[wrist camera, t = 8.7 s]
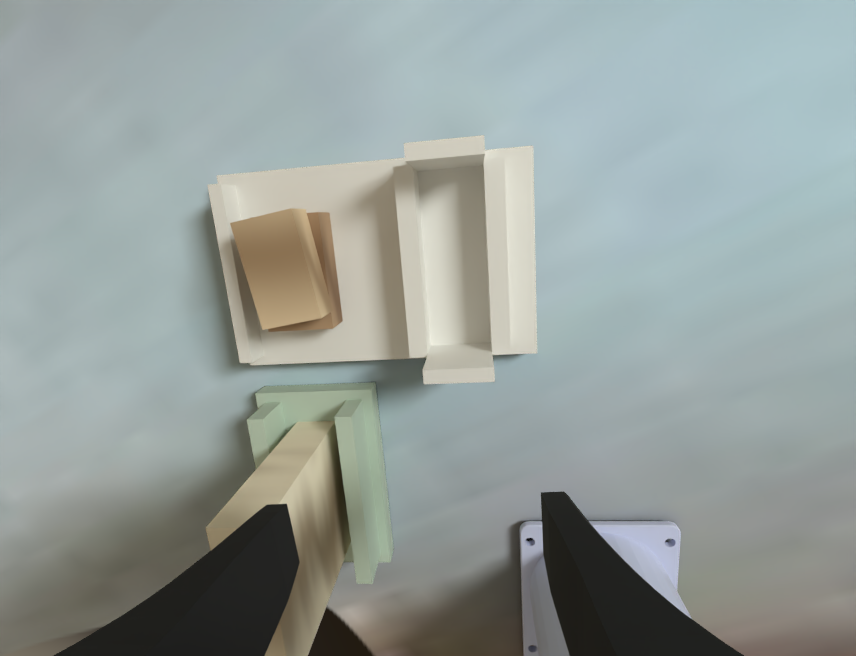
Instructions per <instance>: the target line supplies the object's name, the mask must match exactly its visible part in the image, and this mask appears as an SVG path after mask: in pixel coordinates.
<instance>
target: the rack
mask: <svg viewBox="0 0 856 656" xmlns="http://www.w3.org/2000/svg"><path fill="white" fill-rule="evenodd" d="M404 151H405V158H397V159H387V160H376V161H366V162H355V163H345V164H334V165H323V166H313V167H302V168H292V169H281V170H271V171H260V172H250V173H239V174H229V175H218V176H217V181H218V184H212V185H208V191H209V196H210V202H211V207H212V213H213V218H214V224H215V229H216V235H217V240H218V246H219V251H220V256H221V262H222V267H223V273H224V278H225V284H226V289H227V295H228V300H229V306H230V311H231V317H232V322H233V328H234V333H235V339H236V344H237V350H238V355H239V361H240V363H250V365H271V364H294V363H318V362H342V361H365V360H389V359H412V358H426V361H425V364H424V367H423V381H424V384H447V383H475V382H495V376H494V363H493V356H492V355H506V354H530V353H537V321H536V268H535V216H534V164H533V146H524V147H513V148H503V149H492V150H485V144H484V135H482V136H472V137H462V138H452V139H441V140H431V141H421V142H411V143H404ZM290 208H295V209H306V212H307V213H313V212H329V213H330V221H331V229H332V237H333V245H334V253H335V262H336V270H337V278H338V286H339V294H340V302H341V310H342V318H343V321H342V322H341V323H340V324H338V325H337V326H336V327H335V328H333V329H317V330H297V331H278V332H269V331H268V329H265V330H262V326H261V323H260V320H259V317H258V313H257V310H256V307H255V304H254V300H253V297H252V294H251V291H250V287H249V284H248V281H247V277H246V274H245V271H244V268H243V264H242V261H241V258H240V255H239V251H238V248H237V245H236V242H235V238H234V235H233V232H232V229H231V225H230V223H232V222H236V221H241V220H245V219H249V218H252V217H257V216H261V215H265V214H270V213H274V212H278V211H282V210H286V209H290Z"/></svg>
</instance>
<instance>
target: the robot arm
mask: <svg viewBox="0 0 856 656" xmlns="http://www.w3.org/2000/svg"><path fill="white" fill-rule="evenodd" d="M541 505H542V521H527V522H524V523H522V524H521V526H520V529H519V531H520V562H521V593H522V625H523V656H744V655H742V654H741V653H739V652H737V651H736V650H734V649H733V648H731V647H730V646H728V645H727V644H726V643H724V642H723V641H721V640H720V639H718V638H717V637H716V636H714V635H713V634H711V633H710V632H709V631H707V630H706V629H705V628H703V627H702V626H700V625H699V624H698V623H696V622H695V621H694V620H692V618H691V616H690V614H689V613H688V611H687V609H686V607H685V605H684V603H683V602H682V600H681V598H680V596H679V594H678V592H677V583H678V567H679V552H680V537H681V533H680V530H679V528H678V527H677V525H676V524H675V523H673V522H670V521H588V520H587V519H586V518H585V516H584V515H583V514H582V513H581V512H580V510H579V509H578V508H577V506H576V505H575V504H574V503H573V501H572V500H571V499H570V497H569V496H568V495H567V494H566V493H565V492H544V493H541ZM527 538H533V540H532V541H527V540H526V539H527ZM670 538H671V539H672V540H670V541H668V542H665V541H666V540H667V539H670ZM299 563H300V561H299V556H298V551H297V547H296V542H295V538H294V533H293V529H292V524H291V520H290V515H289V511H288V506H287V504H270V505H266V506H264V507H263V508H262V509H260V510H259V511H258V512H257V513H255V514H254V515H253V516H252V517H250V518H249V519H248V520H247V521H246V522H245V523H243V524H242V525H241V526H240V527H239V528H237V529H236V530H235V531H234V532H233V533H232V534H230V535H229V536H228V537H227V538H226V539H224V540H223V541H222V542H221V543H220V544H218V545H217V546H216V547H215V548H214V549H212V550H211V551H210V552H209V553H208V554H206V555H205V556H204V557H203V558H201V559H200V560H199V561H197V562H196V563H195V564H194V565H192V566H191V567H190V568H188V569H187V570H186V571H185V572H183V573H182V574H181V575H179V576H178V577H177V578H176V579H174V580H173V581H172V582H170V583H169V584H168V585H166V586H165V587H164V588H162V589H161V590H159V591H158V592H157V593H155V594H154V595H152V596H151V597H149V598H148V599H146V600H145V601H143V602H142V603H140V604H139V605H137V606H136V607H135V608H133V609H132V610H130V611H129V612H127V613H125V614H124V615H122V616H121V617H119V618H117V619H116V620H114V621H112V622H111V623H109V624H107V625H106V626H104V627H102V628H101V629H99V630H97V631H96V632H94V633H92V634H91V635H89V636H88V637H86V638H84V639H82V640H81V641H79V642H77V643H76V644H74V645H72V646H70V647H68V648H67V649H65V650H63V651H61V652H59V653H57V654H56V655H54V656H265V654H266V651H267V649H268V647H269V644H270V642H271V640H272V638H273V635H274V633H275V631H276V628H277V626H278V624H279V621H280V619H281V617H282V614H283V612H284V610H285V607H286V605H287V602H288V600H289V597H290V594H291V591H292V587H293V584H294V581H295V577H296V574H297V570H298V567H299ZM530 645H534V646H530Z"/></svg>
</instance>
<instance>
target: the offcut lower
mask: <svg viewBox="0 0 856 656" xmlns="http://www.w3.org/2000/svg"><path fill="white" fill-rule="evenodd" d="M307 216H308V220H309V224H310V227H311V231H312V235H313V238H314V242H315V246H316V250H317V253H318V257H319V261H320V264H321V268H322V272H323V276H324V279H325V283H326V287H327V291H328V294H329V298H330V302H331V305H332V309H333V311H332V312H330V313H329V314H327V315H326V316H324V317H323V318H320V319H315V320H310V321H305V322H300V323H295V324H290V325H285V326H280V327H275V328H270V329H268V331H269V332H278V331H297V330H317V329H333V328H335V327H336V326H337V325H338V324H340V323H341V322H342V321H343V318H342V310H341V302H340V294H339V286H338V278H337V270H336V262H335V253H334V245H333V237H332V229H331V221H330V213H329V212H313V213H307ZM252 218H253V217H252Z"/></svg>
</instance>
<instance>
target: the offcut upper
mask: <svg viewBox="0 0 856 656" xmlns="http://www.w3.org/2000/svg"><path fill="white" fill-rule="evenodd" d="M230 225H231V229H232V232H233V235H234V238H235V242H236V245H237V248H238V251H239V255H240V258H241V261H242V264H243V268H244V271H245V274H246V277H247V281H248V284H249V287H250V291H251V294H252V297H253V300H254V304H255V307H256V310H257V313H258V317H259V320H260V323H261V326H262V330H265V329H270V328H275V327H280V326H285V325H290V324H295V323H300V322H305V321H310V320H315V319H320V318H323V317H324V316H326V315H327V314H329V313H330V312H332V311H333V309H332V305H331V302H330V298H329V294H328V291H327V287H326V283H325V279H324V276H323V272H322V268H321V264H320V261H319V257H318V253H317V250H316V246H315V242H314V238H313V235H312V231H311V227H310V224H309V220H308V216H307V212H306V209H295V208H290V209H286V210H282V211H278V212H274V213H270V214H265V215H261V216H257V217H253V218H249V219H245V220H241V221H236V222H232V223H230Z"/></svg>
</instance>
